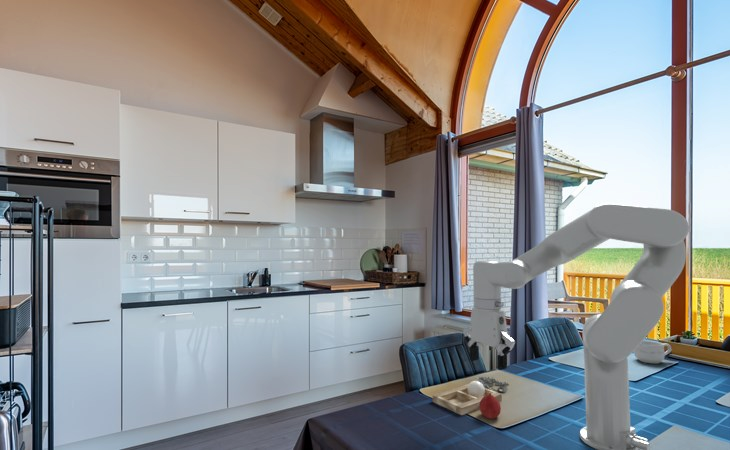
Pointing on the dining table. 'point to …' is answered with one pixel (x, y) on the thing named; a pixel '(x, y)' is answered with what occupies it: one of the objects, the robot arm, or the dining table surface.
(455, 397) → the holder board
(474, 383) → the ceramic egg
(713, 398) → the dining table surface
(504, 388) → the grey green leafy sprig
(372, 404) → the dining table surface
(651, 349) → the teacup
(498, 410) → the onion
